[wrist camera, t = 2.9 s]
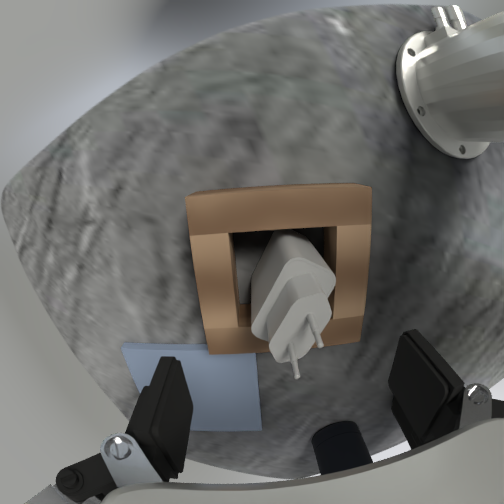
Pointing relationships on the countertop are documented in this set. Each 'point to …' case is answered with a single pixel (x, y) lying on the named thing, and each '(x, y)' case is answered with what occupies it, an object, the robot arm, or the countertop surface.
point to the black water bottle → (340, 448)
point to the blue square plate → (206, 383)
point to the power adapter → (290, 296)
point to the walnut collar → (272, 218)
